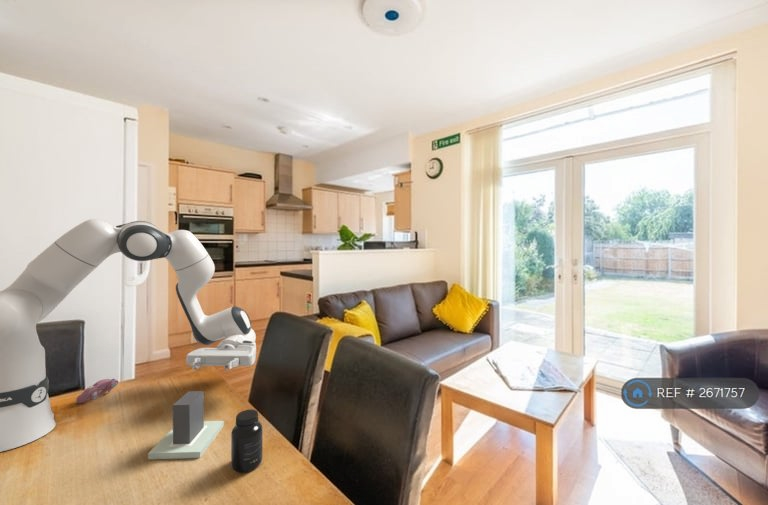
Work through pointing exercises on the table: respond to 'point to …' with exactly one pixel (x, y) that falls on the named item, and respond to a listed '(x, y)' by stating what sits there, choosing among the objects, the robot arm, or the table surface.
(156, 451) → the pin board
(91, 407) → the table surface
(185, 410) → the block
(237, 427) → the supplement bottle
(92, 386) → the video game controller
